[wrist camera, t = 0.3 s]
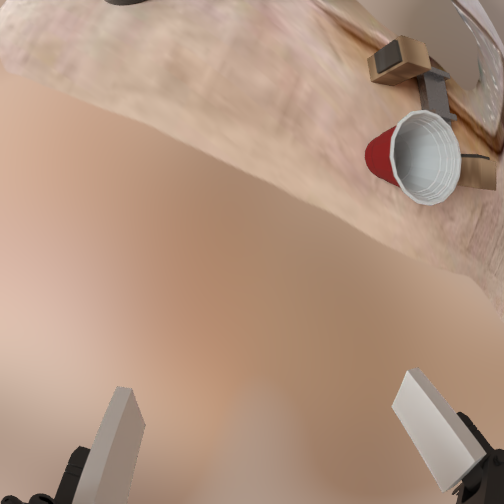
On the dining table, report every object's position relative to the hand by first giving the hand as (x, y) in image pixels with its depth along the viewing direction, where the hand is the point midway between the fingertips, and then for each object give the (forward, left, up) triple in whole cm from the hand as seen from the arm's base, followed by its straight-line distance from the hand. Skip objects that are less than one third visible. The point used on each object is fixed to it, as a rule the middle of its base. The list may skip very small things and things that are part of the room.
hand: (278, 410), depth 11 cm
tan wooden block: (-26, +22, -28) cm, 44 cm away
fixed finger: (-11, +32, -25) cm, 42 cm away
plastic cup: (-12, +20, -28) cm, 36 cm away
